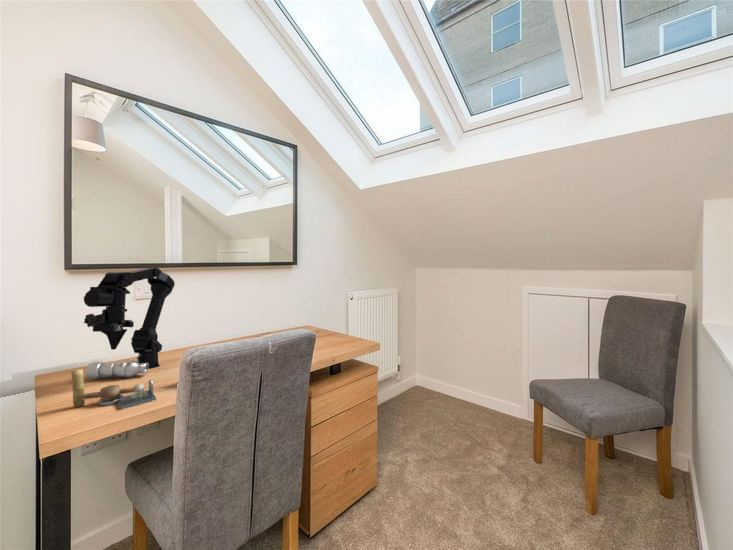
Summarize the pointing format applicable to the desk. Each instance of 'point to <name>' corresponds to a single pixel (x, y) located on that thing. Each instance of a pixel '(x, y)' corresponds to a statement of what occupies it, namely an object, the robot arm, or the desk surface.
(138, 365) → the plastic bottle
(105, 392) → the tan piece
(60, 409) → the desk surface
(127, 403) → the level stand
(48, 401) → the desk surface
